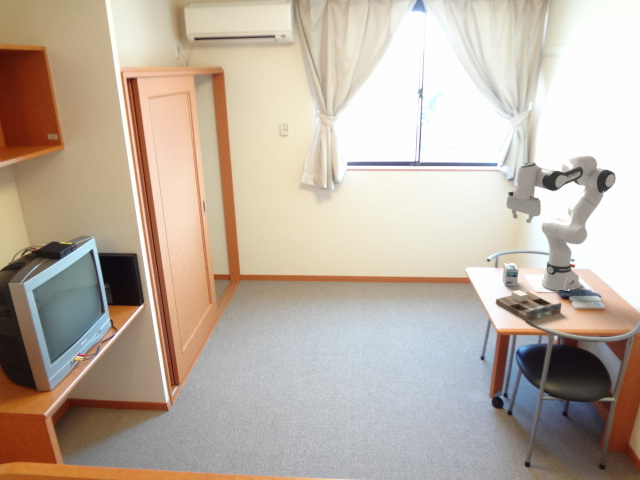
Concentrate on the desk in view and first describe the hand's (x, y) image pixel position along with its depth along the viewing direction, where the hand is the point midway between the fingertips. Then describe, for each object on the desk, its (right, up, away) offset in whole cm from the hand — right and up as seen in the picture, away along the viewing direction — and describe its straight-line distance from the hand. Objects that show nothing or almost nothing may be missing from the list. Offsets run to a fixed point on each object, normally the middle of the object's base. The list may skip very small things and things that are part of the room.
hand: (521, 220), depth 248 cm
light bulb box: (+6, -36, +31) cm, 48 cm away
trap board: (+3, -46, 0) cm, 46 cm away
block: (+1, -42, +5) cm, 42 cm away
